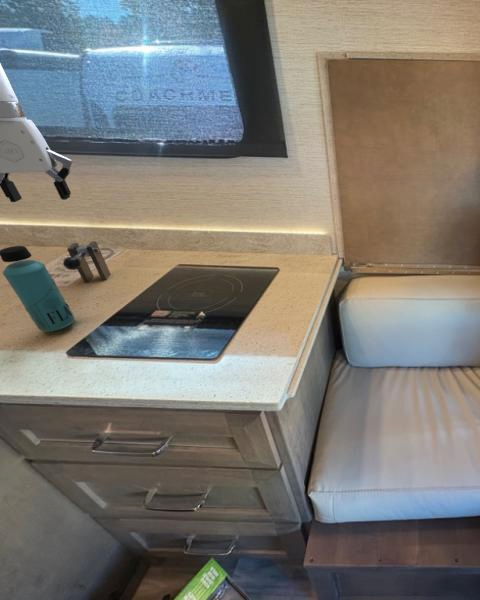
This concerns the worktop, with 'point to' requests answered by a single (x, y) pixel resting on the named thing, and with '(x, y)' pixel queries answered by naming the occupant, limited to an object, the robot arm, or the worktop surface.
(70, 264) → the tap lever
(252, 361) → the worktop surface
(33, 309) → the beverage bottle
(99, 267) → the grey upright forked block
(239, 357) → the worktop surface
